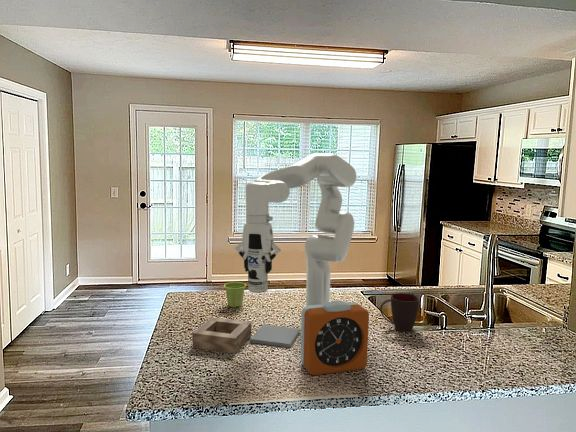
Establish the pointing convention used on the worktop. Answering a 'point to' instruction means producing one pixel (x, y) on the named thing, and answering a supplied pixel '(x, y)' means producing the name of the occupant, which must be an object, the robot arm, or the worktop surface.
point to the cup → (403, 310)
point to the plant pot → (235, 293)
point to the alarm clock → (334, 337)
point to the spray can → (256, 265)
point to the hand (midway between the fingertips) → (257, 270)
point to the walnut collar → (222, 335)
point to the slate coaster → (275, 335)
